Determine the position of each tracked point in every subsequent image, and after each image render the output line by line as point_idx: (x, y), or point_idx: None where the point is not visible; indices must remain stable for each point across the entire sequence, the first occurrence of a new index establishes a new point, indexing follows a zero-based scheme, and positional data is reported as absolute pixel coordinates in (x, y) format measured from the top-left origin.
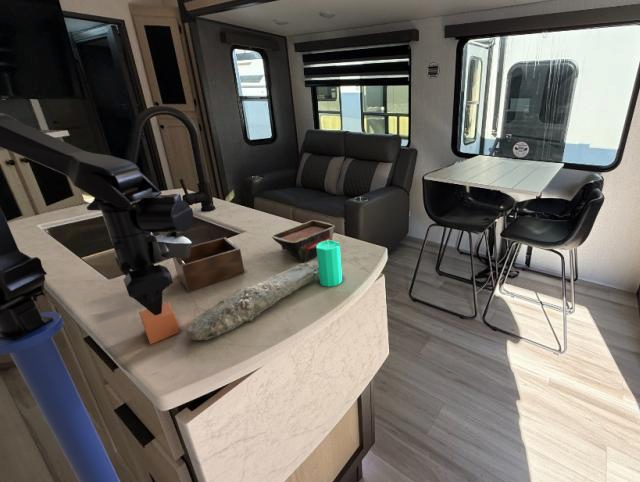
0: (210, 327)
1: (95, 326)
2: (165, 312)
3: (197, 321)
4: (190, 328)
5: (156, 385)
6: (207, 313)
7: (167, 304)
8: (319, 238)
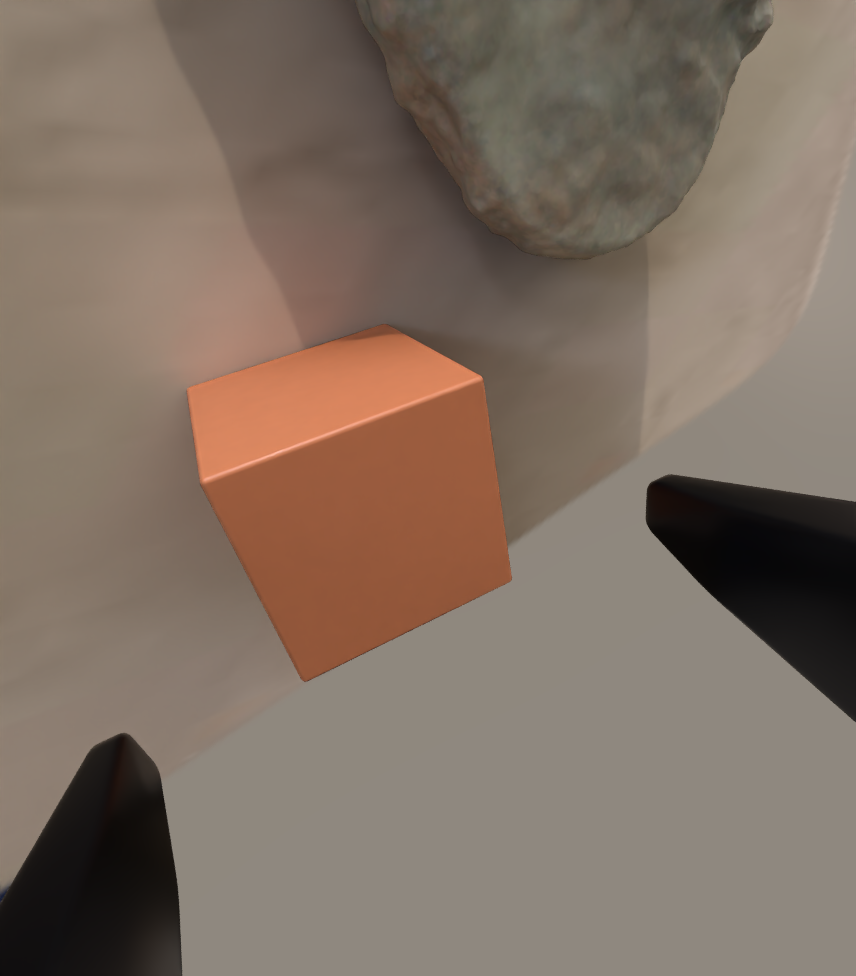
0: (756, 28)
1: None
2: (445, 457)
3: (583, 147)
4: (622, 220)
5: (728, 385)
6: (493, 6)
7: (274, 475)
8: None
